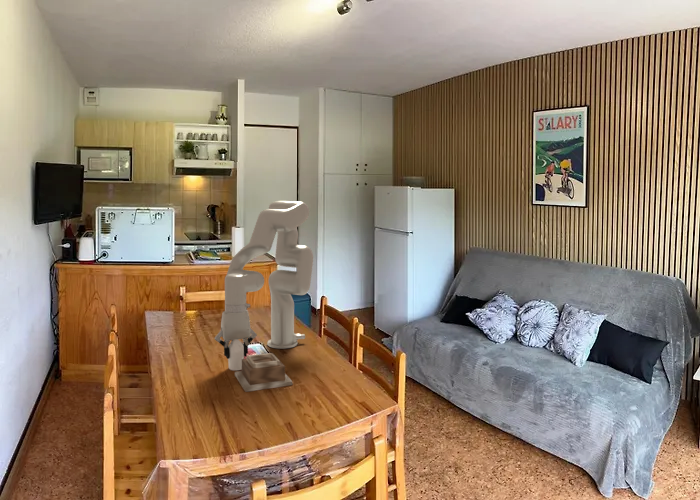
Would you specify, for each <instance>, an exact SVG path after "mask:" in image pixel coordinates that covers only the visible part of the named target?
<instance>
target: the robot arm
mask: <svg viewBox="0 0 700 500" xmlns="http://www.w3.org/2000/svg"><path fill="white" fill-rule="evenodd" d="M268 206H269V207H268V208H266V209H262V210H261V211H260V213H259V214H258V216H257V219H256V222H255V225H254V227H253V232H252V233H251V236H250V239H249V242H248V243H247V244H245V246H242V248H241V249H240V250H239V251H238V252H237V253H236V254H235V255H234V256H233V258H232V259H231V261H230V264H229V265H228V269H227V272H226V275H225V277H224V311H222V314H221V322H220V330H219V331H218V332H217V334H216V335H215V337H214V340H215V341H216V343H217V342H218V343H219V345H221V346H222V347H223V354H224V357H226V359H227V360H228V359H229V345H230V343H231V342H230V341H232V340H236V339H238V340H242V341H243V343H242V344H243V346H244V358H245V357H246V358H247V356H248V354H249V345H250V344H251V342H252V341H254V339H255V338H256V337H257V335H258V334H257V333H256V332H255V331H254V330H253V329H252V328H251V322H250V321H251V320H250V315H249V311H248V308H251V303H247V293H252V292H258V291H259V290H261V289H262V288H263V287H264V284H265V278H264V275H263V274H262V273H261V272H260V271H255V270H249V269H244V268H245V266H246V265H247V264H248V262H250V261H251V260H253V259H255V258H258V257H260V256H263V255H265V254H267V253H269V252H270V251H271V249H272V247H273V243H274V239H275V237H276V234H277V238H276V248H275V259H274V261H275V263H276V265H278V266H279V267H284V268H293V269H296V270H287V269H277V270H273V271H272V272H271V273H270V274H269V276H268V287H269V292H270V338H271V339H268V340H267V343H266V345H267V346H268V347H269V348H271V349H272V348H273V349H277V350H280V349H281V350H285V349H291V348H294V347H296V346H298V343H299V342H298V340H304V339H305V338H306V335H305V333H302V334H301V333H295V302H294V299H293V296H292V295H296V296H304V295H306V294H307V293H309V291H310V288H311V283H312V282H311V281H312V274H313V273H312V272H313V265H314V264H313V262H314V254H313V250H312V249H311V248H310V246H307V245H303V244H298V240H299V239H298V238H299V231H298V227H300V226H301V225H303V224H304V223H305V222H306V221H307V220H308V218H309V216H310V209H309V208H310V207H309V206H308V204H307V203H305V202H303V201H295V200H293V201H292V200H291V201H290V200H275V201H272V202H271V203H269V205H268ZM221 337H222V339H223V340H222V339H221Z"/></svg>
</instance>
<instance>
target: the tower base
mask: <svg viewBox="0 0 700 500" xmlns="http://www.w3.org/2000/svg"><path fill="white" fill-rule="evenodd" d="M234 377H236V380H237V381H238V383H239V384H240V386H241V387H242V389H243V390H244V392H246V393H247V392H254V391H260V390H261V391H262V390H268V389H273V388H274V389H275V388H281V387H288V386H293V380H292V379H291V378H290V377H289V376H288V374H286V365H285V364H284V363H283V362H282V361H281V360H280V359H279V358H278V356H276V355H275V354H274V353H273V352H269V353H261V354H260V353H259V354H252V355H250V354H249V355H247V356H246V358H244V359H242V370H237V371H234Z"/></svg>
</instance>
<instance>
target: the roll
mask: <svg viewBox="0 0 700 500" xmlns="http://www.w3.org/2000/svg"><path fill="white" fill-rule="evenodd" d="M230 341H231V342H229V345H228V347H229V359H227V363H228V370H230V371H234V372H237V371H242V359H245V356H244V346H243V344H244V343H243V342H241V340H240V339H236V340H230Z"/></svg>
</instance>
